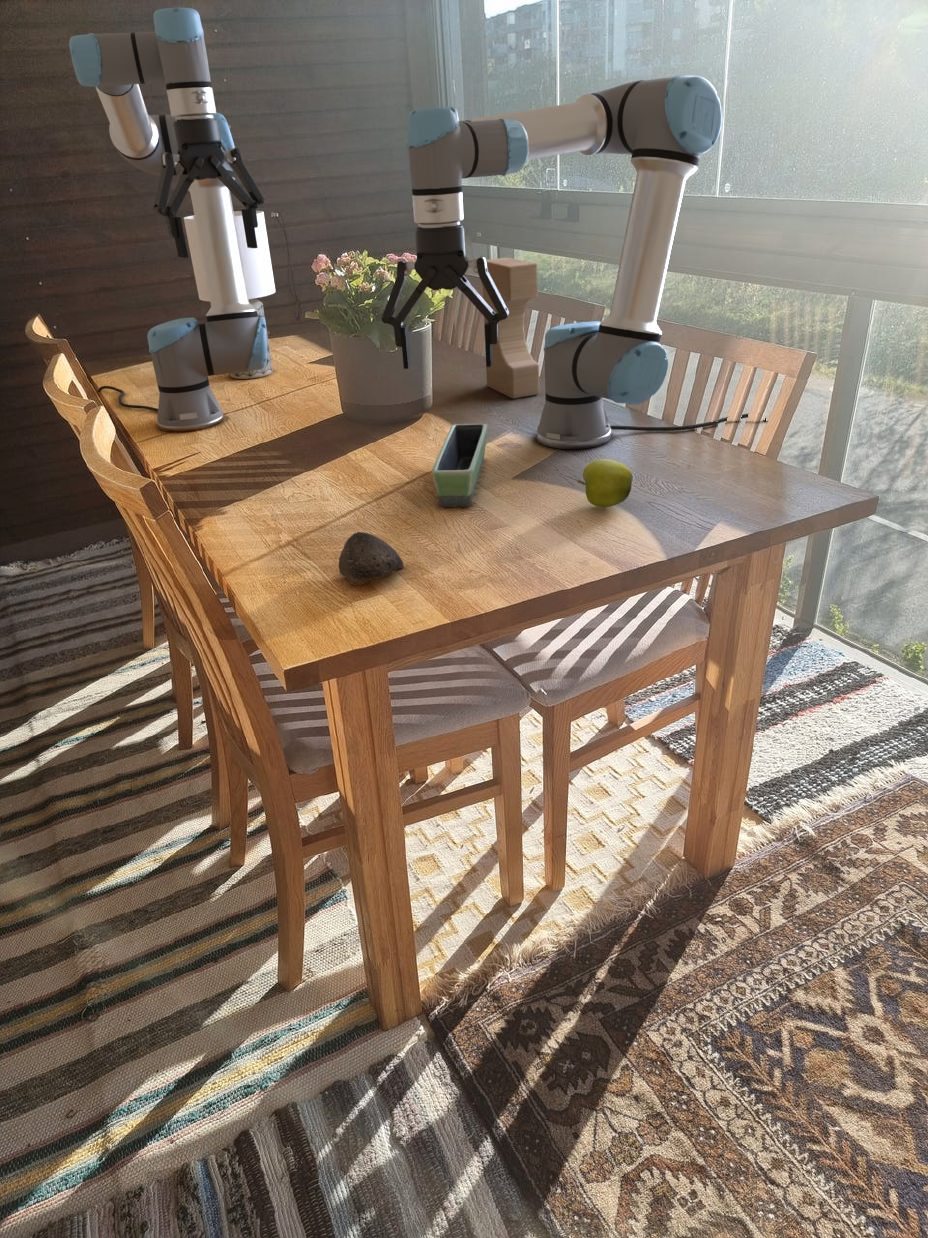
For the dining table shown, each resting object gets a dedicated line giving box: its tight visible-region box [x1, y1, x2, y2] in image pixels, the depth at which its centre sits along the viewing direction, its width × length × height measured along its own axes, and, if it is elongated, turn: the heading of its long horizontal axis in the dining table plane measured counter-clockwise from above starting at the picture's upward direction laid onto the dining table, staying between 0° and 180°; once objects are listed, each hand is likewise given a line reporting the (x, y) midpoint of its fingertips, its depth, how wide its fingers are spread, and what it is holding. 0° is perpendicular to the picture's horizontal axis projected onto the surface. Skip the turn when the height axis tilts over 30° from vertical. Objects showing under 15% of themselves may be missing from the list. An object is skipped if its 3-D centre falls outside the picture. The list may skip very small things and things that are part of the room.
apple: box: [577, 458, 634, 508], centre depth 149 cm, size 8×9×8 cm
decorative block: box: [482, 256, 540, 399], centre depth 213 cm, size 15×8×30 cm, turn 24°
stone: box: [338, 531, 405, 586], centre depth 130 cm, size 10×8×10 cm
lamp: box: [183, 210, 276, 380], centre depth 242 cm, size 21×21×42 cm
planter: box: [431, 423, 488, 508], centre depth 163 cm, size 28×7×7 cm, turn 173°
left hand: (218, 252), depth 160 cm, fingers open, 13 cm apart
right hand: (448, 365), depth 144 cm, fingers open, 13 cm apart
